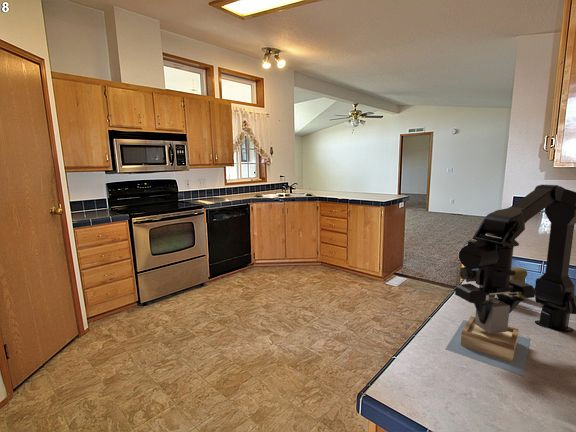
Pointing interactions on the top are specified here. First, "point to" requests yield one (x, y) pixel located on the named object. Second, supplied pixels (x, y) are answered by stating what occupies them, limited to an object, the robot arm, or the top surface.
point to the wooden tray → (490, 340)
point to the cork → (519, 277)
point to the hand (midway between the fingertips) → (491, 322)
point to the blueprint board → (514, 366)
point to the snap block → (495, 317)
